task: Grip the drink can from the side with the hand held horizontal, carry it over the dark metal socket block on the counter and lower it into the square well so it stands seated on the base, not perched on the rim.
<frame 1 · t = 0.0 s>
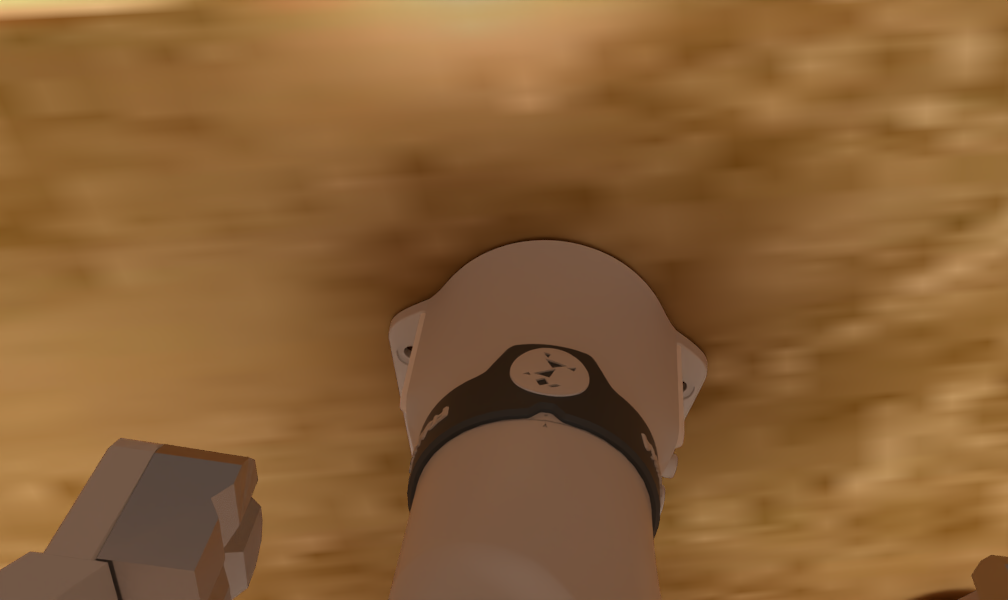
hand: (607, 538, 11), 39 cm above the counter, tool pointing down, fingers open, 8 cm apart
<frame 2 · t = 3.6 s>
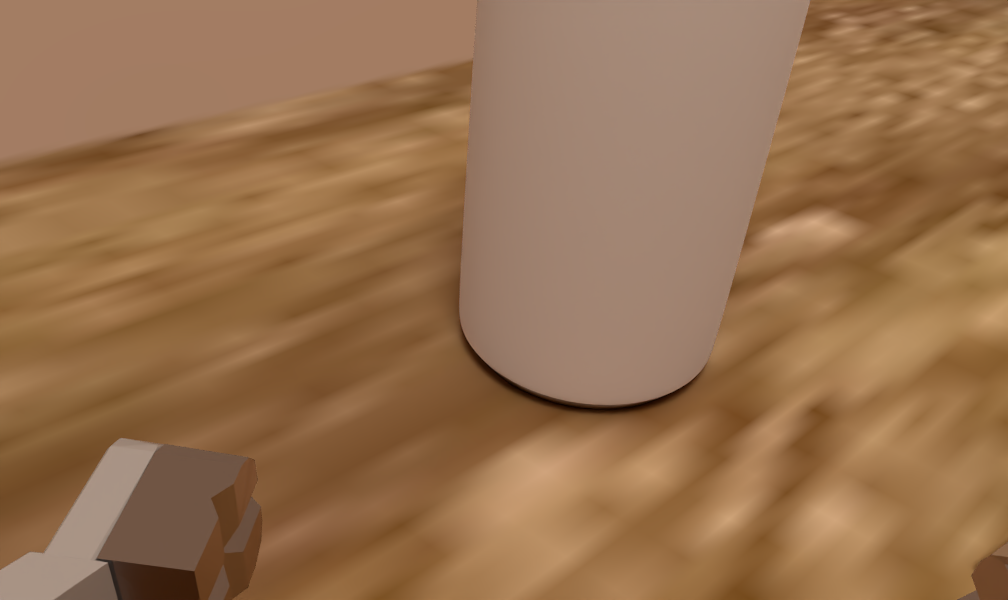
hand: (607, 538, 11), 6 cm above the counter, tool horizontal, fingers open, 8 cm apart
can: (582, 335, 24), on the counter
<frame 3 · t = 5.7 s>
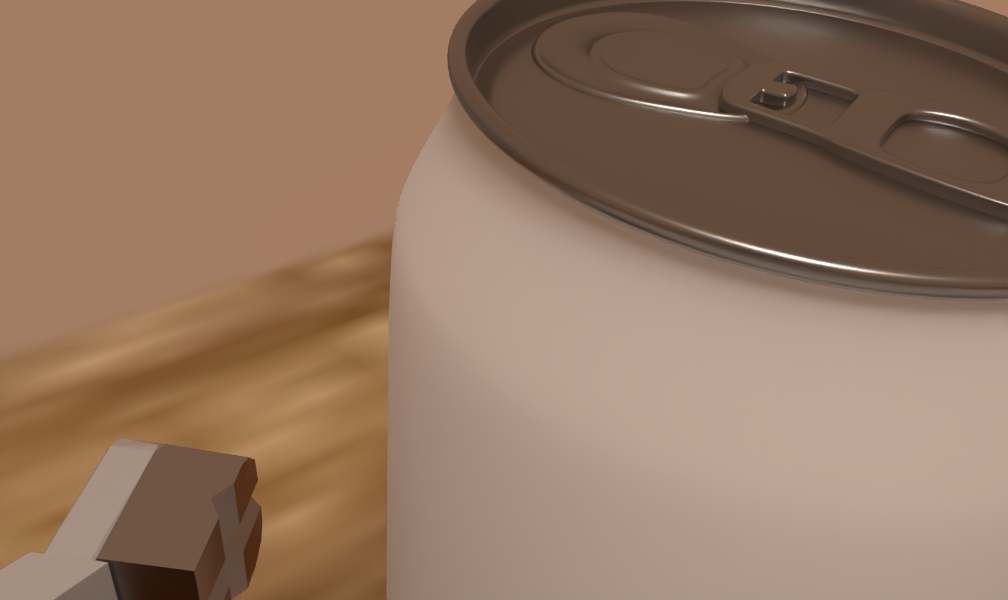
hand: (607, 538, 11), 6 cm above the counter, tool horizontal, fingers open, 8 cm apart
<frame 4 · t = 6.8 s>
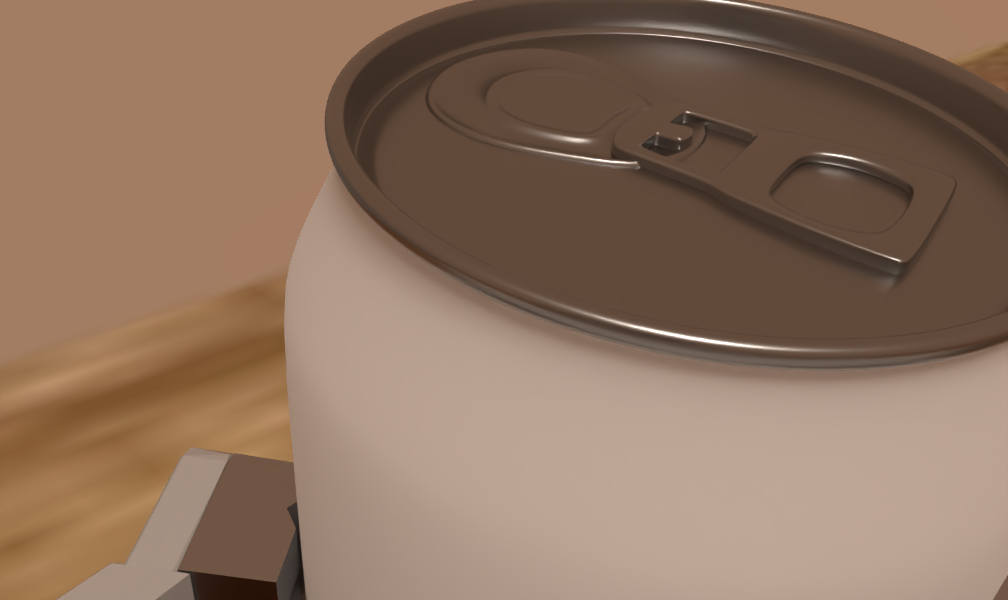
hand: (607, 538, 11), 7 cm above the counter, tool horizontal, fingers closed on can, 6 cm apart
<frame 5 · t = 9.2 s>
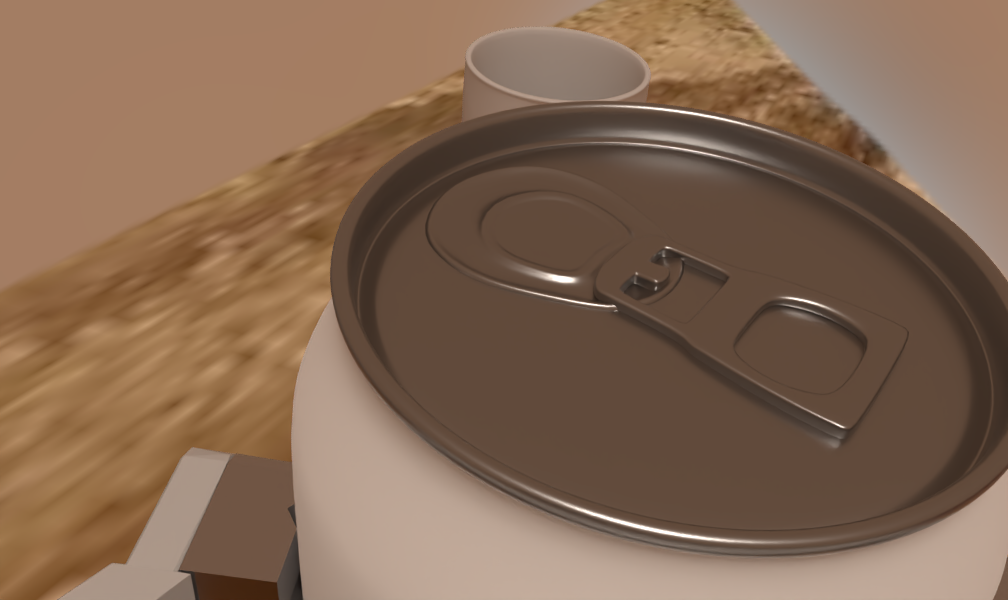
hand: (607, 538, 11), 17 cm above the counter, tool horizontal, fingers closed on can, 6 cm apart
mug: (524, 302, 43), on the counter
when the fingers open (8 cm above the counter, at t = 11.7 s): can stays where it is, resting on socket block.
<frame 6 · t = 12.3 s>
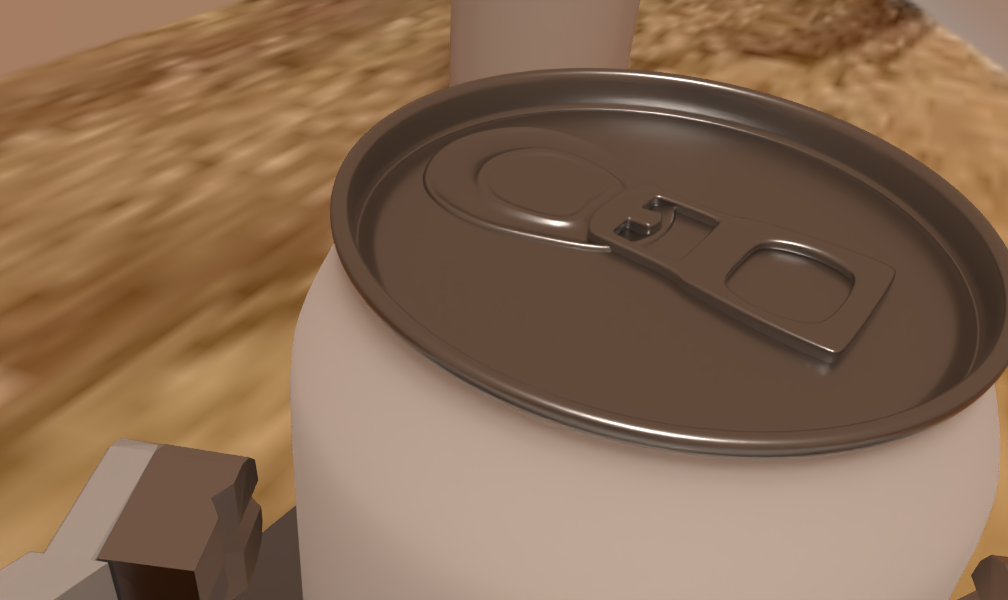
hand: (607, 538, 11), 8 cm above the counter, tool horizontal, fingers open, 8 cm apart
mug: (528, 125, 37), on the counter
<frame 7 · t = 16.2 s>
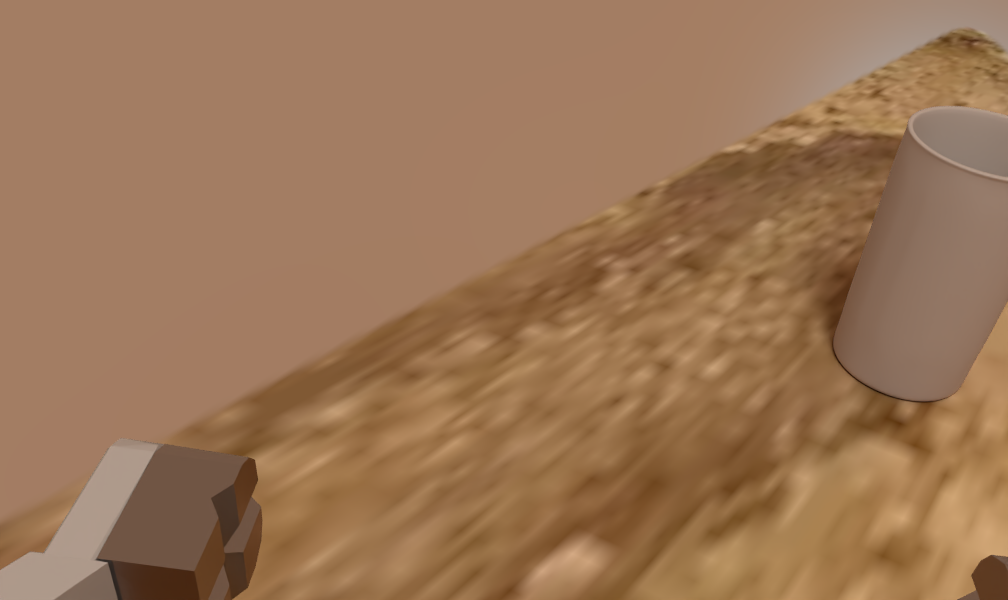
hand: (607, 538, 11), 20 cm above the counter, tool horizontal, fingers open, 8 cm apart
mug: (889, 342, 48), on the counter
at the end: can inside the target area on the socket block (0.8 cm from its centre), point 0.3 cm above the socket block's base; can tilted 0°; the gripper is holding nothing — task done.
